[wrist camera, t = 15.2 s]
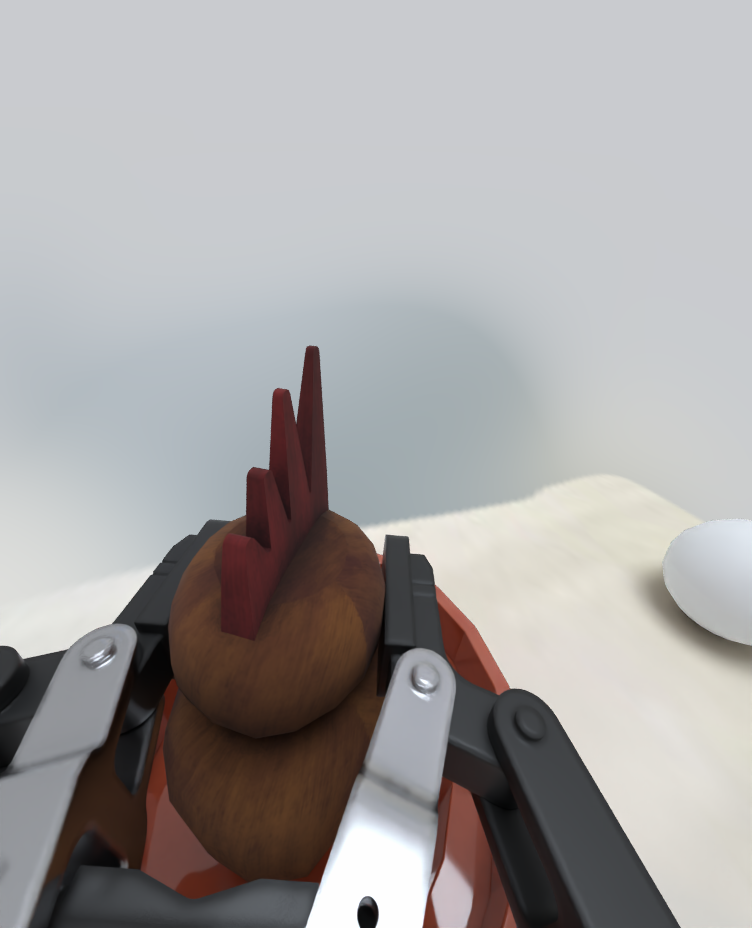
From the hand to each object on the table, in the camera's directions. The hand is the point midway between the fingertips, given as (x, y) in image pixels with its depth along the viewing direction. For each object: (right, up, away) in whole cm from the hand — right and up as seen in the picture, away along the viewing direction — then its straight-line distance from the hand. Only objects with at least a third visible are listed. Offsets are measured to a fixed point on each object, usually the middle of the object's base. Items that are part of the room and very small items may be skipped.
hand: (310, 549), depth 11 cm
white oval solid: (+25, -7, +12) cm, 29 cm away
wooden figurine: (-1, -9, +2) cm, 9 cm away
